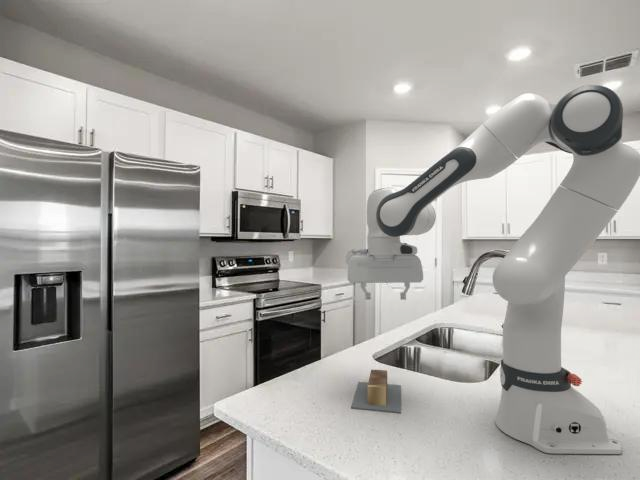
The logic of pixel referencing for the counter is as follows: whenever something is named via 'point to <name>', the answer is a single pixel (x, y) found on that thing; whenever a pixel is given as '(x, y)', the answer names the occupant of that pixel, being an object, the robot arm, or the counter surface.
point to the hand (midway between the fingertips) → (385, 299)
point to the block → (377, 387)
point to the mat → (391, 405)
